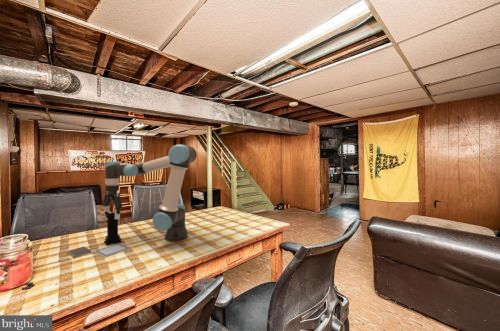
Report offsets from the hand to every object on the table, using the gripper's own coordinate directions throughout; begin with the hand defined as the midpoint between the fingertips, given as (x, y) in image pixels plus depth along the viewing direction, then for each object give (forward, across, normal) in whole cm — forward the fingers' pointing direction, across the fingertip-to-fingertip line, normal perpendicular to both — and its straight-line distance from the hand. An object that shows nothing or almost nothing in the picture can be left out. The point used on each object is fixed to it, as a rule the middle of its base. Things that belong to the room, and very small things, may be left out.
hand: (112, 217), depth 134 cm
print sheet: (+16, +14, -6) cm, 22 cm away
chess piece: (+17, 0, 0) cm, 17 cm away
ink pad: (+17, +2, -18) cm, 24 cm away
